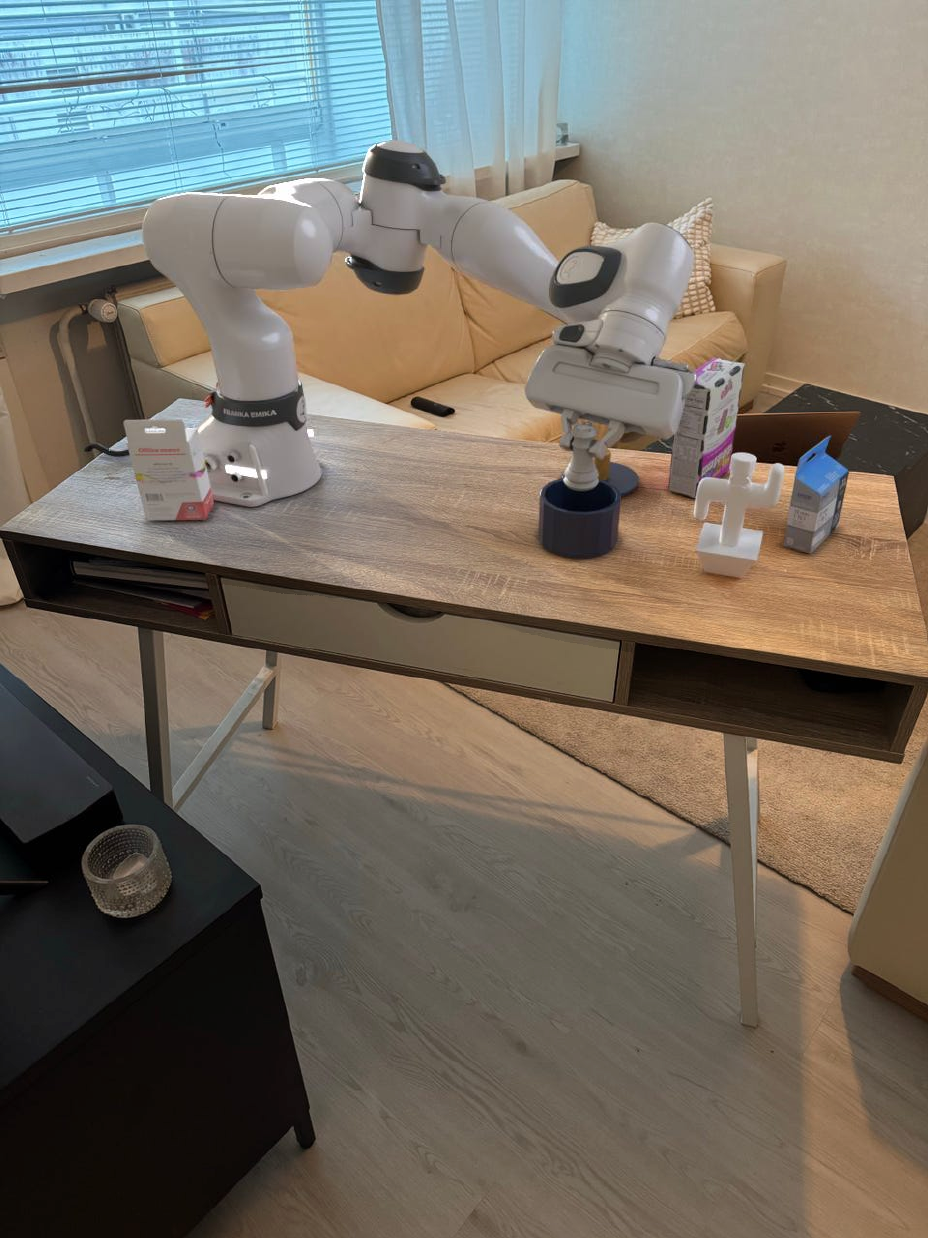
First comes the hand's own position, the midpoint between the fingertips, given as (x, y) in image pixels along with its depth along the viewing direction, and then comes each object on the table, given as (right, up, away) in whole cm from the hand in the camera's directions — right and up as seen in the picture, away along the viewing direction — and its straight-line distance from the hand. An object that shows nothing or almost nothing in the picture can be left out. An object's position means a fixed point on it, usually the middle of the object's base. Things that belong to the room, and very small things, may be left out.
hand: (580, 452), depth 113 cm
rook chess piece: (0, -4, +3) cm, 5 cm away
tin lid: (+5, 0, +20) cm, 20 cm away
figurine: (+18, -14, +1) cm, 23 cm away
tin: (+1, -10, +8) cm, 13 cm away
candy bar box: (+20, -1, +20) cm, 28 cm away
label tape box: (+31, -10, +7) cm, 33 cm away
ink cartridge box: (-54, -6, +16) cm, 56 cm away
